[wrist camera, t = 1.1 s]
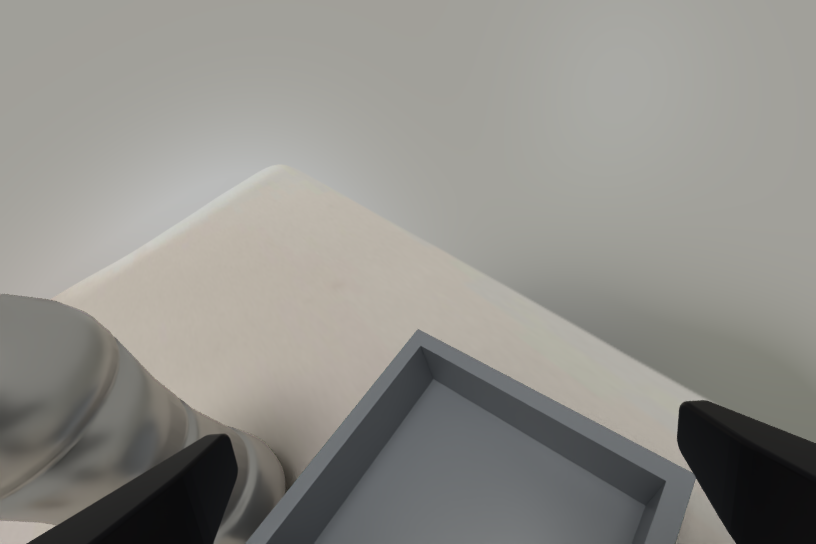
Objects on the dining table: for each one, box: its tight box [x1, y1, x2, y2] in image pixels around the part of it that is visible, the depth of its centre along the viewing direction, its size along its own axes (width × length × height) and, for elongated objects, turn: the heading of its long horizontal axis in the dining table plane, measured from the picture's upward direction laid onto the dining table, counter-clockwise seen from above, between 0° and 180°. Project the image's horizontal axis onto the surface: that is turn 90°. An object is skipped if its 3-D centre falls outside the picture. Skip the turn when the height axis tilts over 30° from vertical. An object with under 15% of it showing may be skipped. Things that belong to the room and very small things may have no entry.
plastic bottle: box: [0, 294, 286, 544], centre depth 15 cm, size 6×7×20 cm
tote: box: [245, 329, 696, 544], centre depth 17 cm, size 14×14×4 cm
